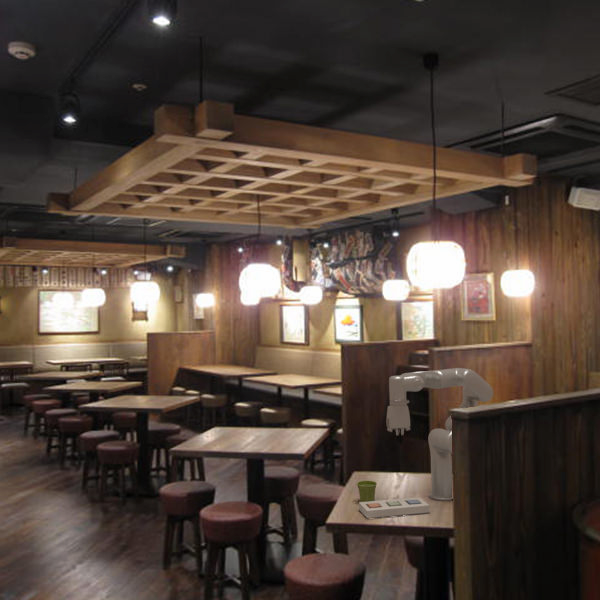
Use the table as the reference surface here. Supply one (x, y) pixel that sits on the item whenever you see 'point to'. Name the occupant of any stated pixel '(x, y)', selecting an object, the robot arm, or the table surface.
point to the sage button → (393, 503)
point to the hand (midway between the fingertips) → (399, 443)
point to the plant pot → (366, 490)
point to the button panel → (394, 508)
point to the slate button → (412, 502)
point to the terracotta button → (373, 505)
